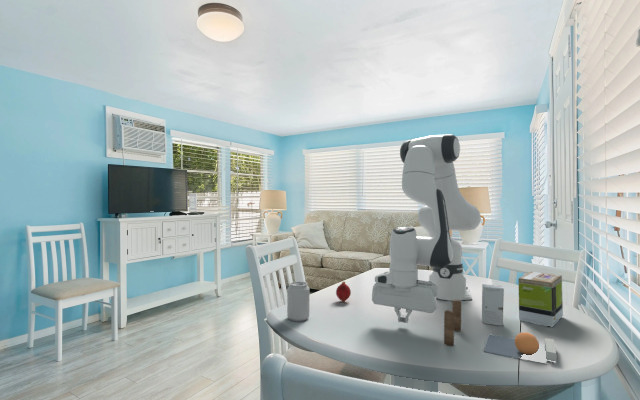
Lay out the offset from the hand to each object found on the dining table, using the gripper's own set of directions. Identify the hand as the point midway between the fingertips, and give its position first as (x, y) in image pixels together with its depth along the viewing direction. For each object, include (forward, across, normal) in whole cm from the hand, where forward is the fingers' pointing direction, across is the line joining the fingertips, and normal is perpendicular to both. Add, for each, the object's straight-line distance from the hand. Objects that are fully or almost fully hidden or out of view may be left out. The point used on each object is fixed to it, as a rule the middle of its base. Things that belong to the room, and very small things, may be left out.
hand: (403, 322), depth 111 cm
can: (+2, +33, +10) cm, 35 cm away
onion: (+2, +29, -16) cm, 33 cm away
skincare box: (+2, -24, -19) cm, 31 cm away
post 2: (+2, -15, -6) cm, 16 cm away
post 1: (+2, -15, +6) cm, 16 cm away
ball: (-1, -34, +2) cm, 34 cm away
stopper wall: (+2, -39, 0) cm, 39 cm away
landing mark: (+2, -31, 0) cm, 31 cm away
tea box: (+2, -38, -32) cm, 50 cm away
